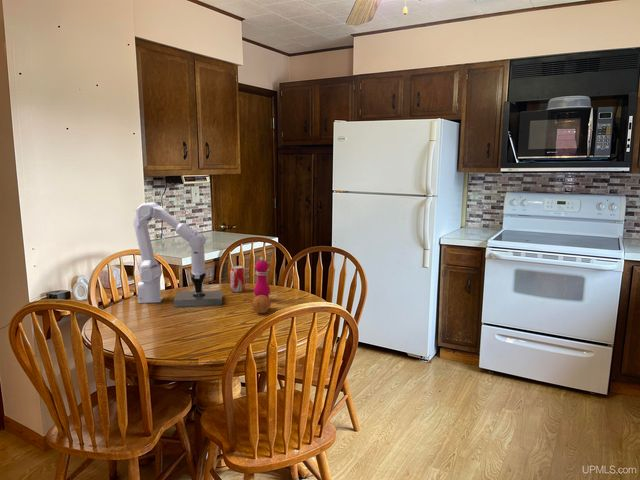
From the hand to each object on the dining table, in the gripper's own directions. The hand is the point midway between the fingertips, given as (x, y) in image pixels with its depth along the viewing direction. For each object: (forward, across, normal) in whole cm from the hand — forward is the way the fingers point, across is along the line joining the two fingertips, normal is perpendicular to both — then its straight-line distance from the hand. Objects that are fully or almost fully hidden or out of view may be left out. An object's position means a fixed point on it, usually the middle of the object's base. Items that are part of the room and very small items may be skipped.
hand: (198, 291), depth 212 cm
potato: (+5, -19, -27) cm, 33 cm away
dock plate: (+5, 0, 0) cm, 5 cm away
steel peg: (+3, 0, 0) cm, 4 cm away
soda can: (+5, +17, -17) cm, 25 cm away
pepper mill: (+5, -2, -28) cm, 29 cm away
